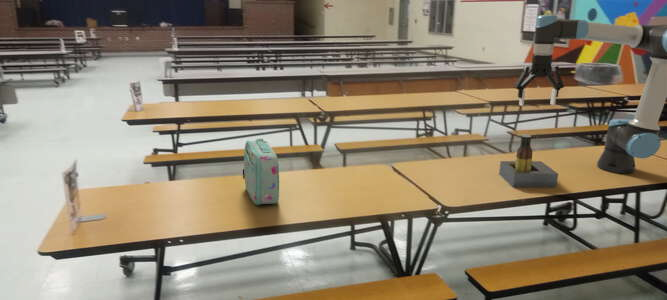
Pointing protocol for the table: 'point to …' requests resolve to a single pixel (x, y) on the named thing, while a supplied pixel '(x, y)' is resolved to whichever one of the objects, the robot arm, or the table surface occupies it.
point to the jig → (529, 175)
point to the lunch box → (261, 172)
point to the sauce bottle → (524, 154)
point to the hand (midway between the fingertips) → (536, 105)
